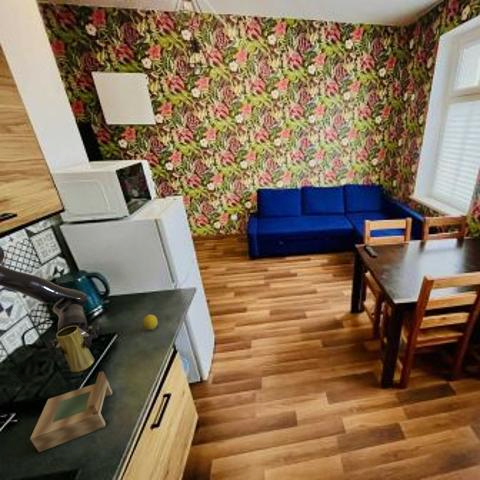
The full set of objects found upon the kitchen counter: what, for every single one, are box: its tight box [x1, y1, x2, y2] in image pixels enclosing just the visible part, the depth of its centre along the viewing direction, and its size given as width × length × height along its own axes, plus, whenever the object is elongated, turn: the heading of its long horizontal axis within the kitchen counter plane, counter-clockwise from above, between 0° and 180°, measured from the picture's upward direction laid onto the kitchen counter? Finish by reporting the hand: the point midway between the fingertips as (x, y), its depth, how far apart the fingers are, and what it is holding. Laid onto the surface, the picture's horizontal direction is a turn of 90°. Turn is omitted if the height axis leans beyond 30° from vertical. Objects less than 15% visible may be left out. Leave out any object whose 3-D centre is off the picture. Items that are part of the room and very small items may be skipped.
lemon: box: [142, 314, 158, 331], centre depth 118 cm, size 6×6×8 cm
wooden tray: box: [29, 371, 113, 453], centre depth 81 cm, size 15×13×10 cm
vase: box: [55, 326, 95, 373], centre depth 86 cm, size 6×6×14 cm
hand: (74, 350), depth 84 cm, fingers closed on vase, 5 cm apart
